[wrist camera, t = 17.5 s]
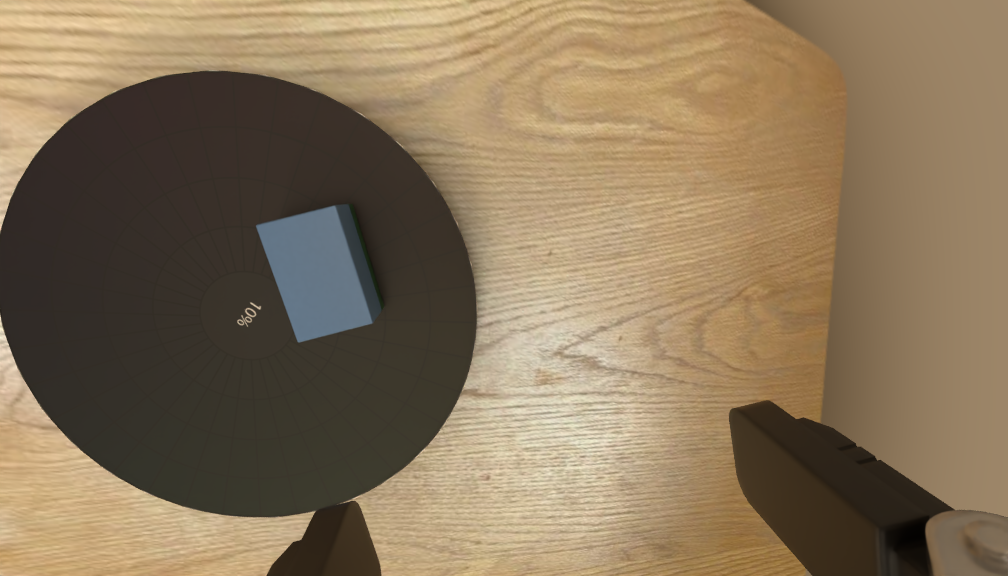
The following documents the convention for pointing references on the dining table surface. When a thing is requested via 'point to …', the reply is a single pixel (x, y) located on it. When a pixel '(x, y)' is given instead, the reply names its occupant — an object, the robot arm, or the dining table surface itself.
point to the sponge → (322, 271)
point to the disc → (230, 295)
